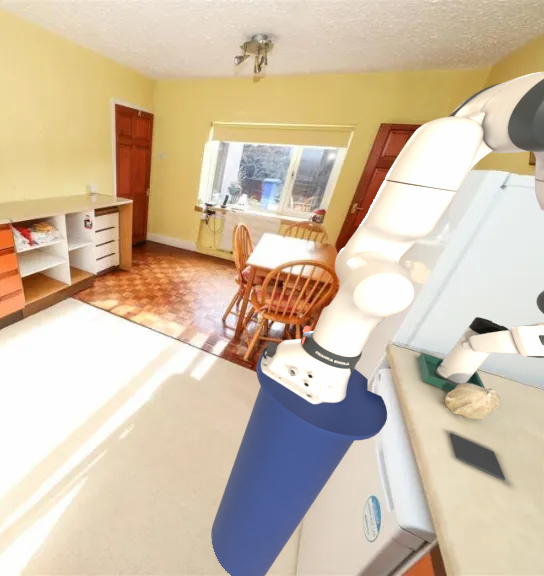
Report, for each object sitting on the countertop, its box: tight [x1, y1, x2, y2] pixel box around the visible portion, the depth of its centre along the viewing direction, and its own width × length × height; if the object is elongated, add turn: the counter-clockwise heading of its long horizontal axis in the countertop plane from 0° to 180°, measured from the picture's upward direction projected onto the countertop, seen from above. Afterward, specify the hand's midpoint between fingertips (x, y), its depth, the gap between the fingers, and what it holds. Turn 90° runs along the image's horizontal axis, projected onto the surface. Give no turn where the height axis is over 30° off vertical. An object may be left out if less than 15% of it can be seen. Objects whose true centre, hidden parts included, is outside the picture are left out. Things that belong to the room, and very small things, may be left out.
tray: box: [417, 352, 486, 392], centre depth 78 cm, size 13×13×2 cm
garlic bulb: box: [444, 383, 501, 420], centre depth 66 cm, size 9×8×10 cm
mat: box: [449, 432, 506, 481], centre depth 58 cm, size 7×7×1 cm
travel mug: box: [436, 316, 510, 385], centre depth 74 cm, size 6×7×20 cm
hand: (481, 346), depth 71 cm, fingers open, 8 cm apart
